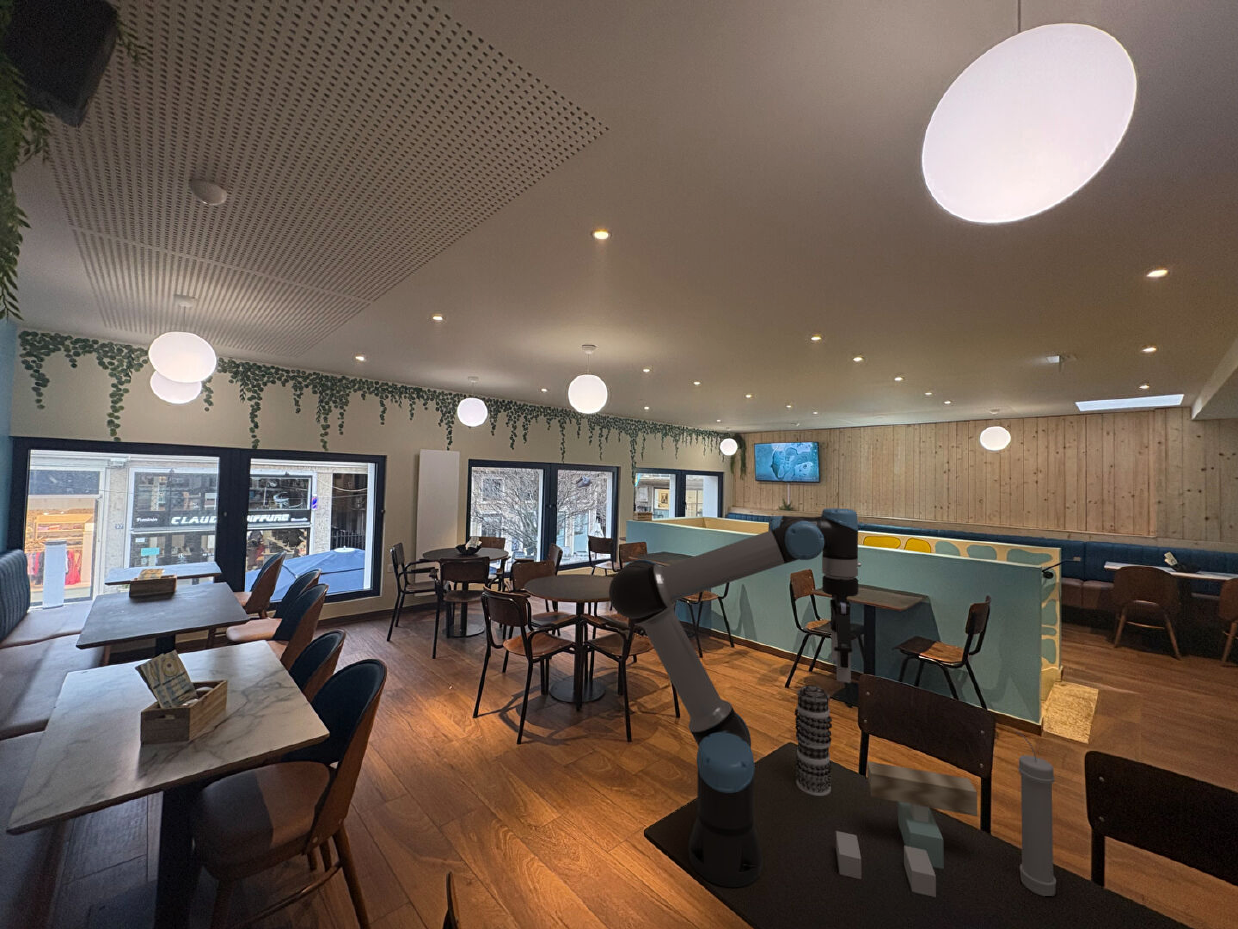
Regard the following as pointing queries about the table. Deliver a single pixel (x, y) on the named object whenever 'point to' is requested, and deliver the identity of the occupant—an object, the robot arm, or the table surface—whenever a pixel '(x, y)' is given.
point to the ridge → (921, 831)
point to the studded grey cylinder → (813, 741)
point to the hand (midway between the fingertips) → (840, 670)
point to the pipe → (1037, 824)
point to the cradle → (914, 863)
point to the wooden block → (922, 788)
